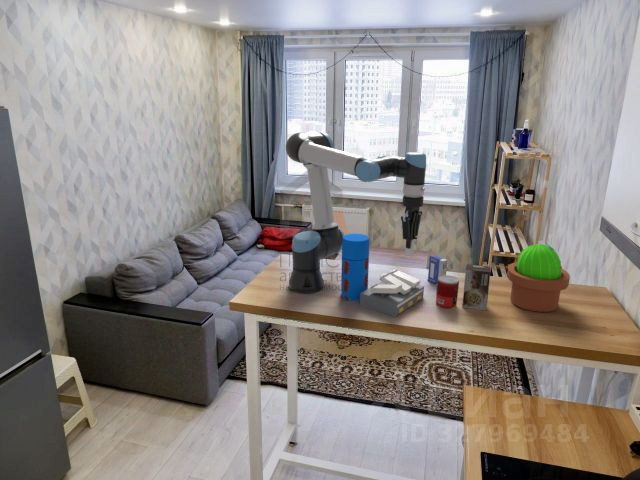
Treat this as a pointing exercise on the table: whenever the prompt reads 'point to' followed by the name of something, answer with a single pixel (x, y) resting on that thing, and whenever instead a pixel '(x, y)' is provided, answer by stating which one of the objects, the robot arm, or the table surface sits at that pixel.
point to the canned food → (447, 291)
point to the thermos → (354, 265)
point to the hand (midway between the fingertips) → (409, 255)
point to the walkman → (436, 268)
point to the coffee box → (476, 287)
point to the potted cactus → (537, 279)
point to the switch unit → (391, 300)
